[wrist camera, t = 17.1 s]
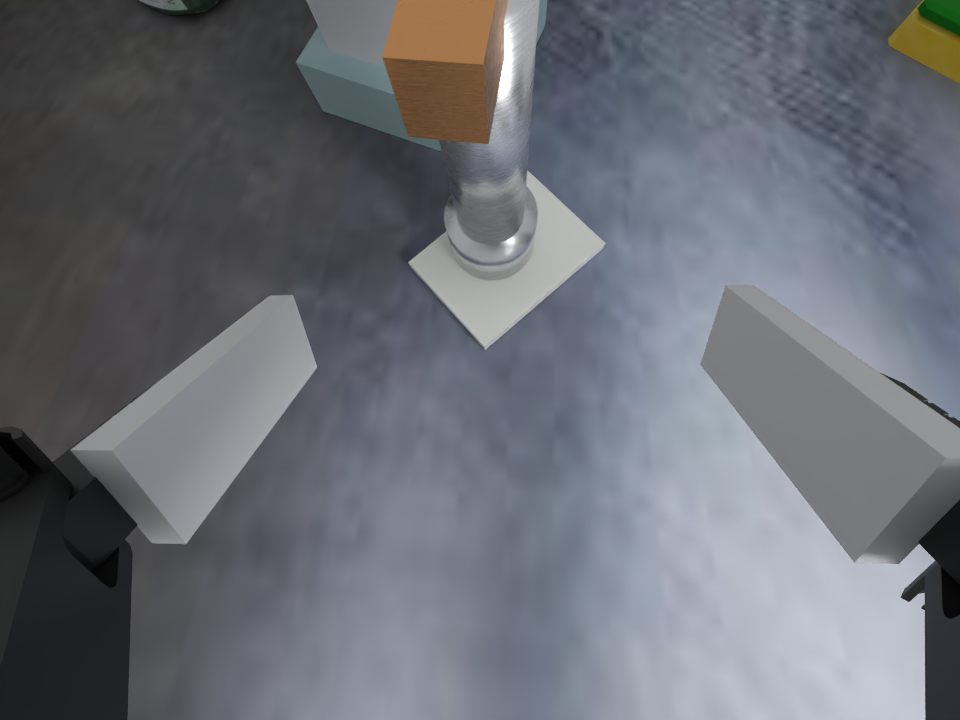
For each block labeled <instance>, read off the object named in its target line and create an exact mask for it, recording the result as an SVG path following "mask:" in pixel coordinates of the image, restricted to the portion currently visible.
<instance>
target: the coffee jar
mask: <svg viewBox="0 0 960 720" xmlns="http://www.w3.org/2000/svg"><path fill="white" fill-rule="evenodd" d="M138 1H139V2H141V3H143V4H145V5H146V6H148V7H150V8H153V9H155V10H157V11H159V12H162V13H166V14H169V15H183V14H192V13H199V12H205V11H207V10H209V9H210V8H212V7H213V6H214V5H216V4H217V3H218V1H219V0H138Z"/></svg>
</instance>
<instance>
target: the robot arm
mask: <svg viewBox="0 0 960 720" xmlns="http://www.w3.org/2000/svg"><path fill="white" fill-rule="evenodd" d="M701 366H702V367H703V368H704V370H705V371H706V372H707V373H708V375H709V376H710V377H711V379H712V380H713V381H714V382H715V384H716V385H717V386H718V388H719V389H720V390H721V391H722V393H723V394H724V395H725V397H726V398H727V399H728V400H729V402H730V403H731V404H732V406H733V407H734V408H735V409H736V411H737V412H738V413H739V415H740V416H741V417H742V418H743V420H744V421H745V422H746V424H747V425H748V426H749V427H750V429H751V430H752V431H753V433H754V434H755V435H756V436H757V438H758V439H759V440H760V442H761V443H762V444H763V445H764V447H765V448H766V449H767V451H768V452H769V453H770V454H771V456H772V457H773V458H774V460H775V461H776V462H777V463H778V465H779V466H780V467H781V469H782V470H783V471H784V472H785V474H786V475H787V476H788V478H789V479H790V480H791V481H792V483H793V484H794V485H795V487H796V488H797V489H798V490H799V492H800V493H801V494H802V496H803V497H804V498H805V499H806V501H807V502H808V503H809V505H810V506H811V507H812V509H813V510H814V511H815V512H816V514H817V515H818V516H819V518H820V519H821V520H822V521H823V523H824V524H825V525H826V527H827V528H828V529H829V530H830V532H831V533H832V534H833V536H834V537H835V538H836V539H837V541H838V542H839V543H840V545H841V546H842V547H843V548H844V550H845V551H846V552H847V554H848V555H849V556H850V557H851V559H852V560H853V561H854V562H855V563H891V564H899V563H900V562H901V561H902V560H903V559H904V558H905V557H906V556H907V555H908V554H909V553H910V552H911V551H912V550H913V549H914V548H915V547H916V546H917V545H918V544H920V545H921V546H922V547H923V548H924V549H925V550H926V551H927V552H928V553H929V554H930V555H931V556H932V557H933V558H934V559H935V560H936V561H935V562H934V563H932V564H931V565H930V566H929V567H928V568H927V569H926V570H925V571H924V572H923V573H922V574H921V575H920V576H918V577H917V578H916V579H915V580H914V581H913V582H912V583H911V584H910V585H909V586H908V587H907V588H905V589H904V591H903V593H902V596H901V598H902V599H904V600H906V601H908V602H909V601H911V600H912V599H913V598H914V597H915V596H916V595H917V594H919V593H925V605H923V606H922V609H924V610H925V710H926V720H960V421H958V420H957V419H955V418H954V417H948V413H947V412H945V411H944V410H942V409H941V408H939V407H938V406H936V405H935V404H933V403H928V400H927V399H926V398H925V397H923V396H922V395H920V394H919V393H917V392H916V391H914V390H913V389H911V388H910V387H908V386H907V385H905V384H904V383H902V382H899V381H897V380H895V379H893V378H890V377H888V376H886V375H884V374H882V373H879V372H878V371H877V370H875V369H874V368H872V367H871V366H869V365H868V364H866V363H865V362H864V361H862V360H861V359H859V358H858V357H856V356H855V355H853V354H852V353H851V352H849V351H848V350H846V349H845V348H843V347H842V346H840V345H839V344H838V343H836V342H835V341H833V340H832V339H830V338H829V337H828V336H826V335H825V334H823V333H822V332H820V331H819V330H817V329H816V328H815V327H813V326H812V325H810V324H809V323H807V322H806V321H804V320H803V319H802V318H800V317H799V316H797V315H796V314H794V313H793V312H791V311H790V310H789V309H787V308H786V307H784V306H783V305H781V304H780V303H778V302H777V301H776V300H774V299H773V298H771V297H770V296H768V295H767V294H765V293H764V292H763V291H761V290H760V289H758V288H757V287H755V286H754V285H731V286H725V289H724V292H723V296H722V299H721V302H720V305H719V308H718V311H717V314H716V317H715V321H714V324H713V327H712V330H711V333H710V336H709V339H708V343H707V346H706V349H705V352H704V355H703V358H702V361H701ZM316 368H317V365H316V362H315V359H314V356H313V353H312V350H311V347H310V344H309V341H308V338H307V335H306V332H305V329H304V326H303V323H302V320H301V317H300V314H299V311H298V308H297V305H296V302H295V299H294V297H293V295H272V296H269V297H267V298H266V299H265V300H263V301H262V302H261V303H260V304H258V305H257V306H256V307H254V308H253V309H252V310H251V311H249V312H248V313H247V314H245V315H244V316H243V317H241V318H240V319H239V320H238V321H236V322H235V323H234V324H232V325H231V326H230V327H229V328H227V329H226V330H225V331H223V332H222V333H221V334H220V335H218V336H217V337H216V338H214V339H213V340H212V341H210V342H209V343H208V344H207V345H205V346H204V347H203V348H201V349H200V350H199V351H198V352H196V353H195V354H194V355H192V356H191V357H190V358H189V359H187V360H186V361H185V362H183V363H182V364H181V365H179V366H178V367H177V368H176V369H174V370H173V371H172V372H170V373H169V374H168V375H167V376H165V377H164V378H163V379H161V380H160V381H159V382H158V383H156V384H155V385H154V386H152V387H150V388H148V389H147V390H145V391H144V392H143V393H142V394H140V395H139V396H138V397H136V398H135V399H134V400H133V401H131V402H130V404H129V405H126V406H125V407H123V408H122V409H121V410H120V411H118V412H117V413H116V414H115V416H114V417H110V418H109V419H108V420H107V421H105V422H104V423H103V424H101V425H100V426H99V427H97V428H96V429H95V430H94V431H92V432H91V433H90V434H88V435H87V436H86V437H84V438H83V439H82V440H81V441H79V442H78V443H77V444H75V445H74V446H73V447H72V448H70V449H69V450H68V451H66V452H65V453H64V454H62V455H61V456H60V457H59V458H57V459H56V460H55V461H53V462H51V461H50V460H49V458H48V457H47V456H46V455H45V454H44V453H43V452H42V451H41V450H40V449H39V448H38V447H37V446H36V445H35V444H34V442H33V441H32V440H31V439H30V438H29V437H28V436H27V435H26V434H25V433H24V432H23V431H22V430H21V429H18V428H15V427H3V428H0V720H127V714H128V682H129V649H130V617H131V585H132V549H131V547H130V545H129V544H128V542H127V541H126V540H125V538H126V537H127V536H128V535H129V534H130V533H131V532H132V531H133V529H134V528H135V527H136V526H137V527H138V528H139V529H140V530H141V531H142V532H143V533H144V534H145V536H146V537H147V538H148V539H149V540H150V541H151V542H152V543H168V544H187V542H188V541H189V540H190V538H191V537H192V536H193V534H194V533H195V531H196V530H197V529H198V527H199V526H200V525H201V523H202V522H203V521H204V519H205V518H206V517H207V515H208V514H209V513H210V511H211V510H212V509H213V507H214V506H215V504H216V503H217V502H218V500H219V499H220V498H221V496H222V495H223V494H224V492H225V491H226V490H227V488H228V487H229V486H230V484H231V483H232V482H233V480H234V479H235V478H236V476H237V475H238V473H239V472H240V471H241V469H242V468H243V467H244V465H245V464H246V463H247V461H248V460H249V459H250V457H251V456H252V455H253V453H254V452H255V451H256V449H257V448H258V446H259V445H260V444H261V442H262V441H263V440H264V438H265V437H266V436H267V434H268V433H269V432H270V430H271V429H272V428H273V426H274V425H275V424H276V422H277V421H278V419H279V418H280V417H281V415H282V414H283V413H284V411H285V410H286V409H287V407H288V406H289V405H290V403H291V402H292V401H293V399H294V398H295V397H296V395H297V394H298V392H299V391H300V390H301V388H302V387H303V386H304V384H305V383H306V382H307V380H308V379H309V378H310V376H311V375H312V374H313V372H314V371H315V370H316Z"/></svg>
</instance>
